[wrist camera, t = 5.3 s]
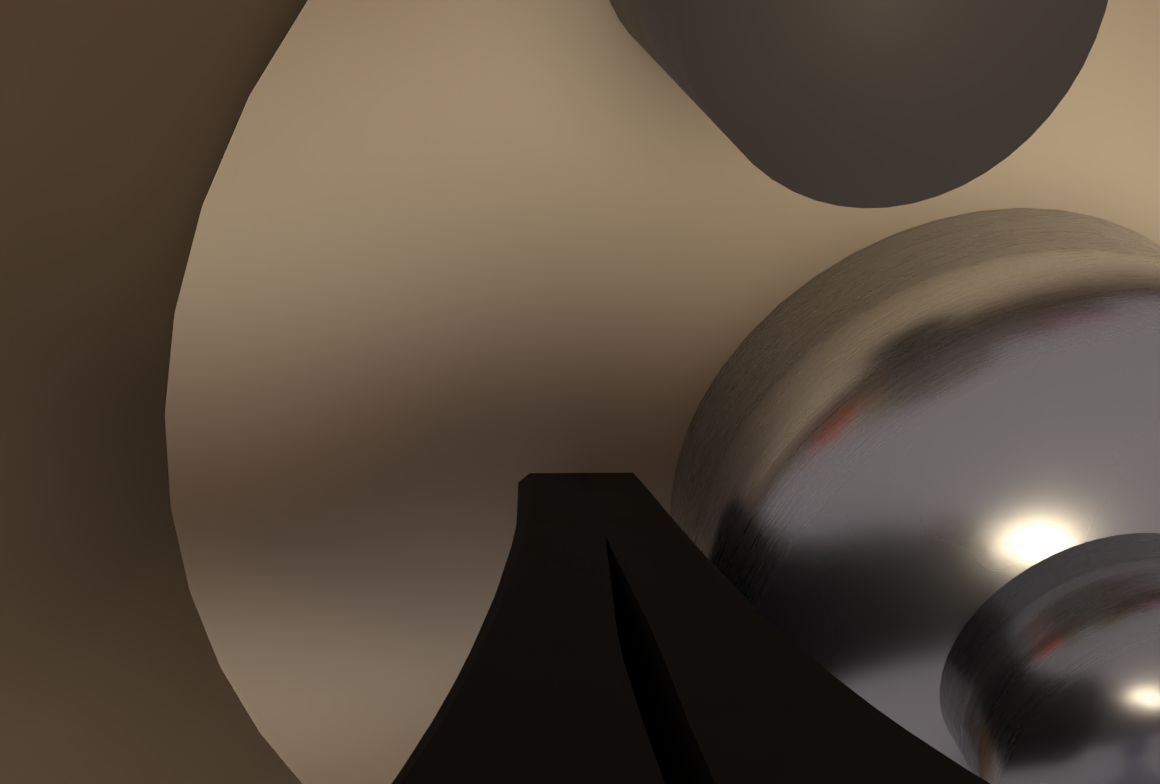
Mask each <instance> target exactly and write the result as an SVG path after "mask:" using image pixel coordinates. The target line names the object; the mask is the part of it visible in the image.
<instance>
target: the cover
mask: <svg viewBox="0 0 1160 784" xmlns="http://www.w3.org/2000/svg"><path fill="white" fill-rule="evenodd" d="M670 516H671V517H672V518H673V519H674V521H675V522H676V523H677V524H678V525H679V526H680V528H681V529H682V530H683V531H684V532H685V533H686V534H687V536H688V537H689V538H690V539H691V540H692V541H693V542H694V544H695V545H696V546H697V547H698V548H699V549H700V550H701V551H702V552H703V553H704V555H705V556H706V557H707V558H708V559H709V560H710V561H711V562H712V563H713V564H714V565H715V566H716V567H717V568H718V569H719V571H720V572H721V573H722V574H723V575H724V576H725V577H726V578H727V579H728V580H729V581H730V582H731V583H732V584H733V585H734V586H735V587H736V588H737V589H738V590H739V591H740V592H741V594H742V595H743V596H744V597H745V598H746V599H747V600H748V601H749V602H750V603H751V604H752V605H754V606H755V607H756V608H757V609H758V610H759V611H760V612H761V613H762V614H763V615H764V616H765V617H766V618H767V619H768V620H769V621H771V622H772V623H773V624H774V625H775V626H776V627H777V628H778V629H779V630H780V631H781V632H783V633H784V634H785V635H786V636H787V637H788V638H789V639H790V640H791V641H792V642H793V643H795V644H796V645H797V646H798V647H799V648H800V649H802V650H803V651H804V652H805V653H806V654H807V655H809V656H810V657H811V658H812V659H813V660H815V661H816V662H817V663H818V664H819V665H821V666H822V667H823V668H824V669H826V670H827V671H828V672H830V673H831V674H832V675H833V676H835V677H836V678H837V679H839V680H840V681H841V682H842V683H844V684H845V685H846V686H848V687H849V688H850V689H851V690H853V691H854V692H855V693H857V694H858V695H859V696H861V697H862V698H863V699H864V700H866V701H867V702H868V703H870V704H871V705H872V706H874V707H875V708H876V709H878V710H879V711H880V712H882V713H883V714H885V715H886V716H888V717H889V718H890V719H892V720H893V721H895V722H896V723H897V724H899V725H900V726H902V727H903V728H904V729H906V730H907V731H909V732H910V733H912V734H913V735H915V736H917V737H918V738H920V739H921V740H923V741H924V742H926V743H927V744H929V745H930V746H932V747H933V748H935V749H936V750H938V751H939V752H941V753H943V754H944V755H946V756H947V757H949V758H950V759H952V760H953V761H955V762H956V763H958V764H959V765H961V766H962V767H964V768H965V769H967V770H969V771H970V772H972V773H974V774H975V775H977V776H979V777H980V778H982V779H984V780H985V781H987V782H989V783H990V784H1160V245H1159V244H1157V243H1155V242H1153V241H1152V240H1150V239H1148V238H1146V237H1145V236H1143V235H1141V234H1139V233H1137V232H1136V231H1134V230H1131V229H1129V228H1126V227H1123V226H1121V225H1118V224H1115V223H1113V222H1110V221H1107V220H1104V219H1102V218H1099V217H1094V216H1089V215H1084V214H1079V213H1074V212H1069V211H1064V210H1053V209H1035V208H1012V209H999V210H986V211H977V212H972V213H967V214H963V215H958V216H953V217H948V218H943V219H938V220H935V221H932V222H929V223H926V224H923V225H920V226H917V227H914V228H911V229H908V230H905V231H902V232H899V233H896V234H893V235H891V236H889V237H887V238H885V239H883V240H880V241H878V242H876V243H874V244H872V245H870V246H867V247H865V248H863V249H861V250H859V251H857V252H855V253H853V254H851V255H849V256H848V257H846V258H845V259H843V260H841V261H840V262H838V263H836V264H835V265H833V266H831V267H830V268H828V269H827V270H825V271H823V272H822V273H820V274H818V275H817V276H815V277H814V278H813V279H811V280H810V281H809V282H807V283H806V284H805V285H804V286H802V287H801V288H800V289H798V290H797V291H796V292H794V293H793V294H792V295H791V296H789V297H788V298H787V299H785V300H784V301H783V302H782V303H780V304H779V305H778V306H777V307H776V308H775V309H774V310H773V311H772V312H771V313H770V314H769V315H768V316H767V317H766V318H765V319H764V320H763V321H762V322H761V323H760V324H759V325H758V326H757V327H756V328H755V329H754V330H753V331H752V332H750V333H749V335H748V336H747V337H746V338H745V340H744V341H743V342H742V343H741V345H740V346H739V347H738V348H737V349H736V351H735V352H734V353H733V354H732V356H731V357H730V358H729V359H728V360H727V362H726V363H725V364H724V365H723V367H722V369H721V370H720V372H719V373H718V375H717V376H716V378H715V380H714V381H713V383H712V384H711V386H710V388H709V389H708V391H707V392H706V394H705V395H704V397H703V399H702V401H701V403H700V405H699V407H698V409H697V411H696V413H695V416H694V418H693V420H692V422H691V424H690V426H689V429H688V431H687V433H686V436H685V439H684V442H683V446H682V449H681V452H680V455H679V458H678V462H677V465H676V469H675V475H674V482H673V488H672V494H671V505H670Z"/></svg>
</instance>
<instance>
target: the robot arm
mask: <svg viewBox="0 0 1160 784" xmlns="http://www.w3.org/2000/svg"><path fill="white" fill-rule="evenodd" d="M392 784H990V783H989V782H987V781H985V780H984V779H982V778H980V777H979V776H977V775H975V774H974V773H972V772H970V771H969V770H967V769H965V768H964V767H962V766H961V765H959V764H958V763H956V762H955V761H953V760H952V759H950V758H949V757H947V756H946V755H944V754H943V753H941V752H939V751H938V750H936V749H935V748H933V747H932V746H930V745H929V744H927V743H926V742H924V741H923V740H921V739H920V738H918V737H917V736H915V735H913V734H912V733H910V732H909V731H907V730H906V729H904V728H903V727H902V726H900V725H899V724H897V723H896V722H895V721H893V720H892V719H890V718H889V717H888V716H886V715H885V714H883V713H882V712H880V711H879V710H878V709H876V708H875V707H874V706H872V705H871V704H870V703H868V702H867V701H866V700H864V699H863V698H862V697H861V696H859V695H858V694H857V693H855V692H854V691H853V690H851V689H850V688H849V687H848V686H846V685H845V684H844V683H842V682H841V681H840V680H839V679H837V678H836V677H835V676H833V675H832V674H831V673H830V672H828V671H827V670H826V669H824V668H823V667H822V666H821V665H819V664H818V663H817V662H816V661H815V660H813V659H812V658H811V657H810V656H809V655H807V654H806V653H805V652H804V651H803V650H802V649H800V648H799V647H798V646H797V645H796V644H795V643H793V642H792V641H791V640H790V639H789V638H788V637H787V636H786V635H785V634H784V633H783V632H781V631H780V630H779V629H778V628H777V627H776V626H775V625H774V624H773V623H772V622H771V621H769V620H768V619H767V618H766V617H765V616H764V615H763V614H762V613H761V612H760V611H759V610H758V609H757V608H756V607H755V606H754V605H752V604H751V603H750V602H749V601H748V600H747V599H746V598H745V597H744V596H743V595H742V594H741V592H740V591H739V590H738V589H737V588H736V587H735V586H734V585H733V584H732V583H731V582H730V581H729V580H728V579H727V578H726V577H725V576H724V575H723V574H722V573H721V572H720V571H719V569H718V568H717V567H716V566H715V565H714V564H713V563H712V562H711V561H710V560H709V559H708V558H707V557H706V556H705V555H704V553H703V552H702V551H701V550H700V549H699V548H698V547H697V546H696V545H695V544H694V542H693V541H692V540H691V539H690V538H689V537H688V536H687V534H686V533H685V532H684V531H683V530H682V529H681V528H680V526H679V525H678V524H677V523H676V522H675V521H674V519H673V518H672V517H671V516H670V515H669V514H668V512H667V511H666V510H665V509H664V508H663V507H662V505H661V504H660V503H659V502H658V501H657V499H656V498H655V497H654V496H653V495H652V493H651V492H650V491H649V490H648V489H647V488H646V486H645V485H644V484H643V483H642V482H641V481H640V480H639V479H638V478H637V476H636V475H635V474H634V473H529V474H528V475H527V476H526V477H524V478H523V479H522V480H521V481H519V482H518V499H517V522H516V529H515V533H514V537H513V541H512V546H511V549H510V552H509V555H508V558H507V561H506V564H505V567H504V570H503V573H502V576H501V579H500V582H499V585H498V588H497V591H496V593H495V596H494V599H493V601H492V603H491V606H490V608H489V610H488V613H487V615H486V617H485V619H484V622H483V624H482V626H481V629H480V631H479V633H478V635H477V638H476V640H475V642H474V644H473V647H472V649H471V651H470V653H469V655H468V657H467V659H466V661H465V663H464V665H463V667H462V669H461V671H460V673H459V675H458V677H457V678H456V680H455V682H454V684H453V686H452V688H451V690H450V691H449V693H448V695H447V697H446V698H445V700H444V702H443V704H442V705H441V707H440V709H439V711H438V712H437V714H436V716H435V718H434V719H433V721H432V723H431V724H430V726H429V727H428V729H427V730H426V732H425V734H424V735H423V737H422V738H421V740H420V741H419V743H418V744H417V746H416V748H415V749H414V751H413V752H412V754H411V755H410V757H409V758H408V760H407V762H406V763H405V765H404V766H403V768H402V769H401V771H400V772H399V774H398V775H397V776H396V778H395V779H394V781H393V782H392Z"/></svg>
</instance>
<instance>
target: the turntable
mask: <svg viewBox="0 0 1160 784" xmlns="http://www.w3.org/2000/svg"><path fill="white" fill-rule="evenodd" d="M1012 208H1035V209H1053V210H1064V211H1069V212H1074V213H1079V214H1084V215H1089V216H1094V217H1099V218H1102V219H1104V220H1107V221H1110V222H1113V223H1115V224H1118V225H1121V226H1123V227H1126V228H1129V229H1131V230H1134V231H1136V232H1137V233H1139V234H1141V235H1143V236H1145V237H1146V238H1148V239H1150V240H1152V241H1153V242H1155V243H1157V244H1159V245H1160V0H308V1H307V2H306V4H305V6H304V7H303V9H302V11H301V12H300V14H299V15H298V17H297V19H296V20H295V22H294V24H293V25H292V27H291V28H290V30H289V32H288V33H287V35H286V37H285V38H284V40H283V41H282V43H281V45H280V46H279V48H278V50H277V51H276V53H275V55H274V56H273V58H272V59H271V61H270V63H269V64H268V66H267V68H266V69H265V71H264V72H263V74H262V76H261V77H260V79H259V81H258V82H257V84H256V86H255V87H254V89H253V90H252V92H251V94H250V95H249V98H248V100H247V102H246V105H245V107H244V109H243V112H242V114H241V116H240V119H239V121H238V123H237V126H236V128H235V130H234V133H233V135H232V137H231V140H230V142H229V144H228V147H227V149H226V151H225V154H224V156H223V158H222V161H221V163H220V165H219V168H218V170H217V172H216V175H215V177H214V179H213V182H212V184H211V187H210V189H209V191H208V194H207V196H206V198H205V201H204V203H203V205H202V209H201V212H200V216H199V220H198V224H197V228H196V232H195V236H194V240H193V243H192V247H191V251H190V255H189V259H188V263H187V267H186V271H185V274H184V278H183V282H182V286H181V290H180V294H179V298H178V302H177V305H176V309H175V314H174V324H173V334H172V344H171V355H170V365H169V375H168V385H167V396H166V406H165V426H166V443H167V459H168V475H169V491H170V507H171V511H172V516H173V520H174V525H175V529H176V533H177V538H178V542H179V547H180V551H181V555H182V560H183V564H184V569H185V573H186V577H187V582H188V586H189V591H190V594H191V596H192V598H193V601H194V603H195V606H196V608H197V611H198V613H199V616H200V618H201V621H202V623H203V626H204V628H205V631H206V633H207V636H208V638H209V640H210V643H211V645H212V648H213V650H214V653H215V655H216V658H217V660H218V663H219V665H220V667H221V669H222V671H223V672H224V674H225V676H226V677H227V679H228V681H229V682H230V684H231V686H232V687H233V689H234V691H235V692H236V694H237V696H238V697H239V699H240V701H241V702H242V704H243V706H244V707H245V709H246V711H247V712H248V714H249V716H250V717H251V719H252V721H253V722H254V724H255V726H256V727H257V729H258V731H259V732H260V734H261V735H262V736H263V737H264V738H265V740H266V741H267V742H268V743H269V744H270V746H271V747H272V748H273V749H274V750H275V752H276V753H277V754H278V755H279V756H280V758H281V759H282V760H283V761H284V762H285V764H286V765H287V766H288V767H289V768H290V770H291V771H292V772H293V773H294V774H295V776H296V777H297V778H298V779H299V780H300V782H301V783H302V784H392V782H393V781H394V779H395V778H396V776H397V775H398V774H399V772H400V771H401V769H402V768H403V766H404V765H405V763H406V762H407V760H408V758H409V757H410V755H411V754H412V752H413V751H414V749H415V748H416V746H417V744H418V743H419V741H420V740H421V738H422V737H423V735H424V734H425V732H426V730H427V729H428V727H429V726H430V724H431V723H432V721H433V719H434V718H435V716H436V714H437V712H438V711H439V709H440V707H441V705H442V704H443V702H444V700H445V698H446V697H447V695H448V693H449V691H450V690H451V688H452V686H453V684H454V682H455V680H456V678H457V677H458V675H459V673H460V671H461V669H462V667H463V665H464V663H465V661H466V659H467V657H468V655H469V653H470V651H471V649H472V647H473V644H474V642H475V640H476V638H477V635H478V633H479V631H480V629H481V626H482V624H483V622H484V619H485V617H486V615H487V613H488V610H489V608H490V606H491V603H492V601H493V599H494V596H495V593H496V591H497V588H498V585H499V582H500V579H501V576H502V573H503V570H504V567H505V564H506V561H507V558H508V555H509V552H510V549H511V546H512V541H513V537H514V533H515V529H516V522H517V499H518V482H519V481H521V480H522V479H523V478H524V477H526V476H527V475H528V474H529V473H634V474H635V475H636V476H637V478H638V479H639V480H640V481H641V482H642V483H643V484H644V485H645V486H646V488H647V489H648V490H649V491H650V492H651V493H652V495H653V496H654V497H655V498H656V499H657V501H658V502H659V503H660V504H661V505H662V507H663V508H664V509H665V510H666V511H667V512H668V514H669V515H670V505H671V494H672V488H673V482H674V475H675V469H676V465H677V462H678V458H679V455H680V452H681V449H682V446H683V442H684V439H685V436H686V433H687V431H688V429H689V426H690V424H691V422H692V420H693V418H694V416H695V413H696V411H697V409H698V407H699V405H700V403H701V401H702V399H703V397H704V395H705V394H706V392H707V391H708V389H709V388H710V386H711V384H712V383H713V381H714V380H715V378H716V376H717V375H718V373H719V372H720V370H721V369H722V367H723V365H724V364H725V363H726V362H727V360H728V359H729V358H730V357H731V356H732V354H733V353H734V352H735V351H736V349H737V348H738V347H739V346H740V345H741V343H742V342H743V341H744V340H745V338H746V337H747V336H748V335H749V333H750V332H752V331H753V330H754V329H755V328H756V327H757V326H758V325H759V324H760V323H761V322H762V321H763V320H764V319H765V318H766V317H767V316H768V315H769V314H770V313H771V312H772V311H773V310H774V309H775V308H776V307H777V306H778V305H779V304H780V303H782V302H783V301H784V300H785V299H787V298H788V297H789V296H791V295H792V294H793V293H794V292H796V291H797V290H798V289H800V288H801V287H802V286H804V285H805V284H806V283H807V282H809V281H810V280H811V279H813V278H814V277H815V276H817V275H818V274H820V273H822V272H823V271H825V270H827V269H828V268H830V267H831V266H833V265H835V264H836V263H838V262H840V261H841V260H843V259H845V258H846V257H848V256H849V255H851V254H853V253H855V252H857V251H859V250H861V249H863V248H865V247H867V246H870V245H872V244H874V243H876V242H878V241H880V240H883V239H885V238H887V237H889V236H891V235H893V234H896V233H899V232H902V231H905V230H908V229H911V228H914V227H917V226H920V225H923V224H926V223H929V222H932V221H935V220H938V219H943V218H948V217H953V216H958V215H963V214H967V213H972V212H977V211H986V210H999V209H1012Z"/></svg>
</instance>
